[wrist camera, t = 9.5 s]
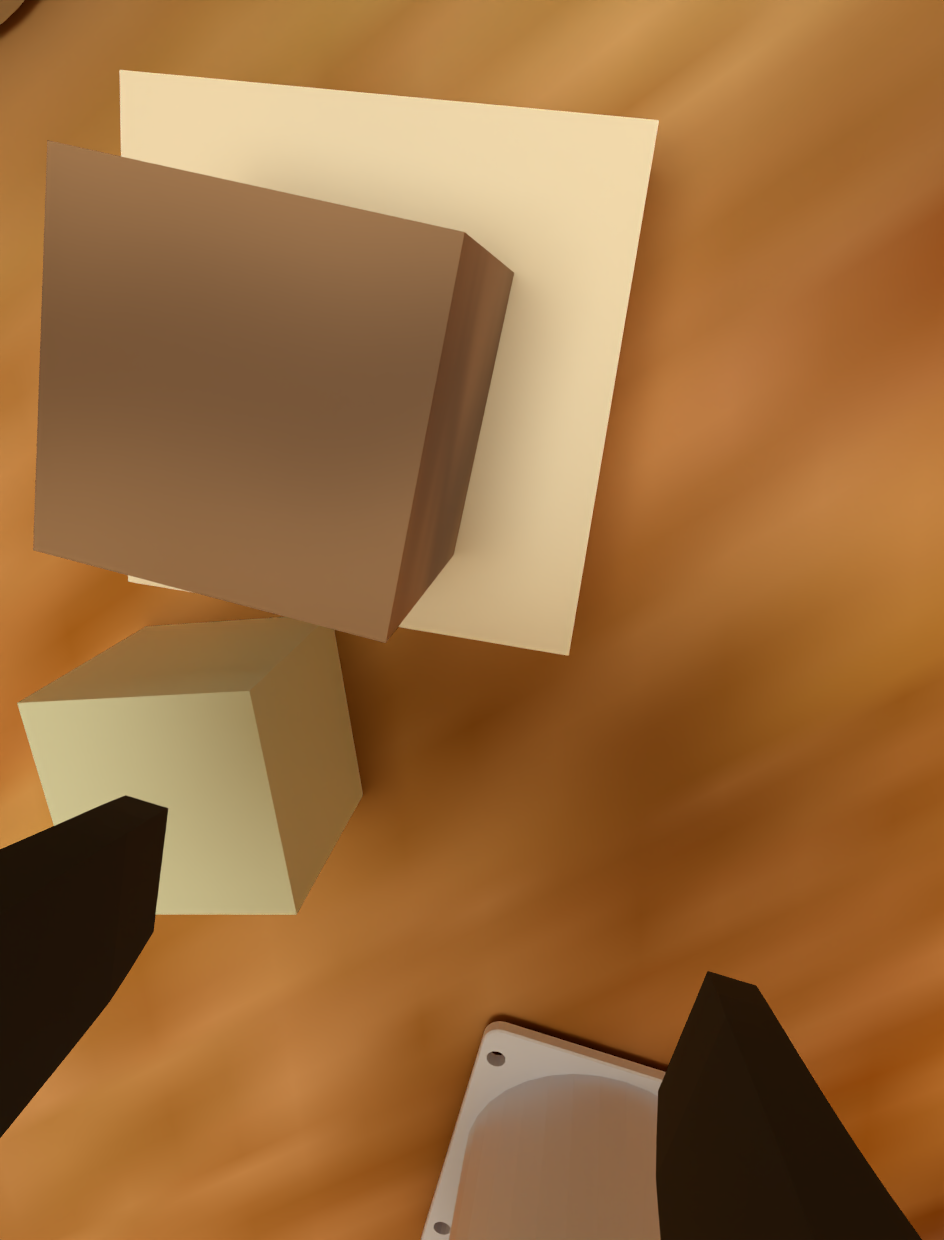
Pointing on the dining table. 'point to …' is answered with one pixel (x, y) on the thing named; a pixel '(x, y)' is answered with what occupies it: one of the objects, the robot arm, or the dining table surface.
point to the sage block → (210, 754)
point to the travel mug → (8, 8)
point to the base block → (536, 311)
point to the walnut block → (257, 389)
